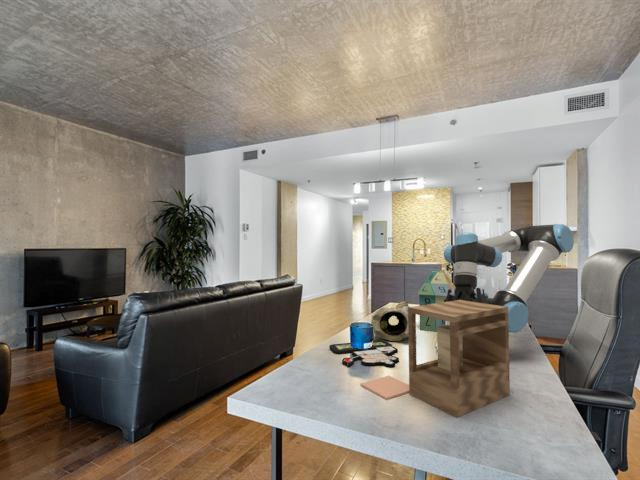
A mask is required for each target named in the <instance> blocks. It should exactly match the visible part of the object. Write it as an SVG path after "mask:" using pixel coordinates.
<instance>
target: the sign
mask: <svg viewBox="0 0 640 480" xmlns="http://www.w3.org/2000/svg"><path fill="white" fill-rule="evenodd" d="M372 341H373V345H372V347H371V348H368V349H358V348H353V347H352V346H351V343H352V342H344V343H335V344H332V343H331V344H330V345H329V347H328V348H329V350H330V352H332V353H333V354H335V355H339V356H340V355H347V354H348V355H350V354H352V357H343V358H342V359H341V361H342V362H341V365H342V366H345V367H346V368H348V369H349V368H351V367H353V365H354V364H355V362H358V361H360V363H361V366H363V367H368V368H370V367H371V368H372V367H385V368H388V369H393V368H394V369H395V367H396V364H399V362H400V359H399V357H398V356H395V354H398V352H399V351H398V348H397V347H395V346H393V344H392V343H390V342H388V340H385V339H376V340H372Z"/></svg>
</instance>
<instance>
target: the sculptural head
mask: <svg viewBox="0 0 640 480" xmlns="http://www.w3.org/2000/svg"><path fill="white" fill-rule="evenodd" d="M408 307H410V306H409V304H408V302H406V301H404V300H403V301H401V302H398V304H396V306H395V307H381V308H378V309H376V310H375V311H374V312H373V313H372V315H371V319H370V321H371V322H370V323H371V326H372V325H373V327H374V332H373V333H374V335H376V336H377V337H379V338H380V339H383V340H385V341H389V342H390V341H392V342H401V341H403V340H405V339H407V338H409V334H408ZM392 317H396V320H397V324H391V323H390V322H389V321H390V319H391V318H392Z"/></svg>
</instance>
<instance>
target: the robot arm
mask: <svg viewBox="0 0 640 480" xmlns="http://www.w3.org/2000/svg"><path fill="white" fill-rule="evenodd" d="M454 243H455V244H453V245H447V246H446V247H445V249H444V251H443V257H444V261H446V262H447V263H448V264H453V265H454V276H453V284H454V286H455V290H450V289H449V290H448V293H447V297H446V299H445V302H448V301H455V300H465V301H472V302H479V303H485V304H492V305H499V306H506V307H508V329H509V333H511V334H515V333H518V332H520V331H522V330H523V329H525V327H526V326H527V325H528V322H529V318H528V317H529V316H530V313H529V311H530V310H529V309H528V307H529V306H528V303H527V301H528V299H529V297H530V296H531V294H532V292H533V291H534V290H535V288H536V286H537V285H538V283H539V281H540V280H541V278H542V277H543V275H544V274H545V271H546V270H547V268H548V266H550V263H551V262H553V261H556V260H558V259H559V257H560V256H561V254H562V253H564V254H566V253H569V252H571V251H572V250H573V249H574V235H573V233H572V230H571V228H570V227H569V226H568V225H566V224H563V223H561V224H560V223H559V224H558V223H553V224H540V225H539V224H538V225H527V226H522V227H519V228H514V229H512V230H507V231H505V232H503V233H502V234H500V235H497V236H492V237H488V238H483V239H480V240H479V236H478V235H477V234H476V233H474V232H460V233H458V234H456V236H455V242H454ZM506 252H508V253H516V252H527V253H526V255H525V257H524V258H523V260H522V262H521V263H520V264H519V266H518V268H516V271H515V272H514V273H513V275H512V277H511V278H510V280H508V283H507V284H506V285H505V287H504V288H503V289H500V290H497V292H496V293H495V294H494V296H493V297H489V295H488V294H489V293H487V292H485V289H484V288H481V287H478V277H477V276H478V266H485V267H489V268H496V267H498V266H499V265H501V263H502V260H503V254H502V253H506ZM454 296H455V297H454ZM444 325H450V322H449V321H445V320H444Z"/></svg>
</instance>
